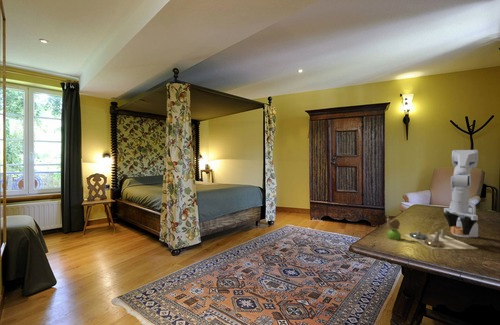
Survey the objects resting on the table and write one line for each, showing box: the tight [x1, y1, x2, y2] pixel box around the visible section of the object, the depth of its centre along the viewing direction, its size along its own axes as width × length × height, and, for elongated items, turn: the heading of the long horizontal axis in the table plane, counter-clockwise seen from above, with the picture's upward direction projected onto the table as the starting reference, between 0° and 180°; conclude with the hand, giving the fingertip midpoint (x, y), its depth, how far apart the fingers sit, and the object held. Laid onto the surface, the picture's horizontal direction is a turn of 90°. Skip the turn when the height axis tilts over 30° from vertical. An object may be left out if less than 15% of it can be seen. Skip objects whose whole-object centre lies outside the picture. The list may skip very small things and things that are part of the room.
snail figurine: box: [386, 215, 402, 241], centre depth 113 cm, size 5×6×12 cm
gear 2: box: [424, 239, 445, 248], centre depth 105 cm, size 7×7×2 cm
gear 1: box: [409, 232, 428, 240], centre depth 114 cm, size 7×7×1 cm
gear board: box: [404, 228, 479, 250], centre depth 110 cm, size 20×18×5 cm
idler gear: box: [449, 226, 466, 236], centre depth 106 cm, size 6×6×2 cm
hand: (459, 232), depth 106 cm, fingers closed on idler gear, 6 cm apart
